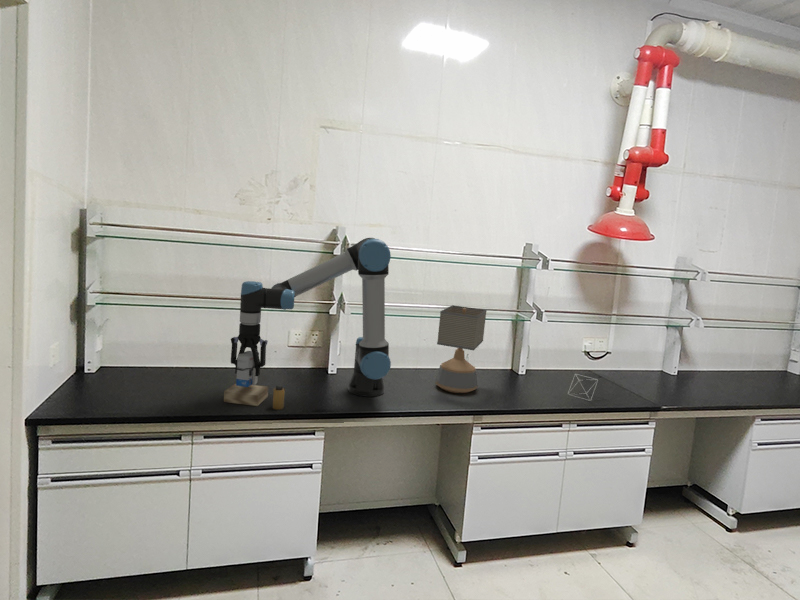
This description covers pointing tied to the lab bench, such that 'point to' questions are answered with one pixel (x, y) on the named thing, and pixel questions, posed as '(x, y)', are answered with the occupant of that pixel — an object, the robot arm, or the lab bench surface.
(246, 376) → the ink box
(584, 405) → the lab bench surface
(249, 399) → the beech plinth
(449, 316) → the desk lamp
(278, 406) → the amber bottle
